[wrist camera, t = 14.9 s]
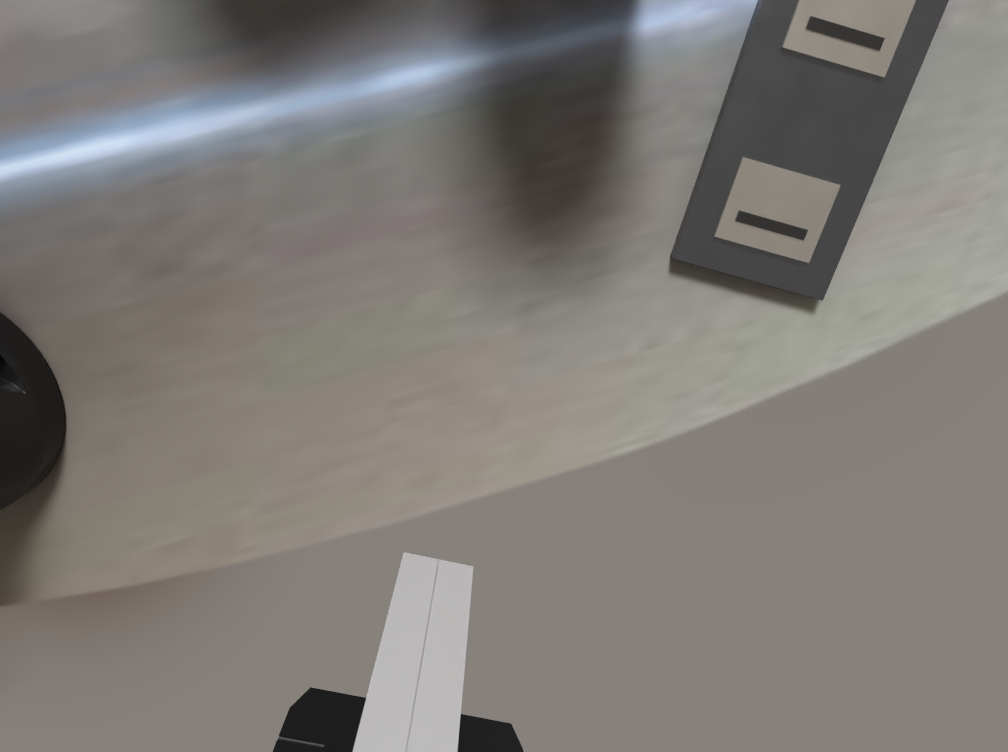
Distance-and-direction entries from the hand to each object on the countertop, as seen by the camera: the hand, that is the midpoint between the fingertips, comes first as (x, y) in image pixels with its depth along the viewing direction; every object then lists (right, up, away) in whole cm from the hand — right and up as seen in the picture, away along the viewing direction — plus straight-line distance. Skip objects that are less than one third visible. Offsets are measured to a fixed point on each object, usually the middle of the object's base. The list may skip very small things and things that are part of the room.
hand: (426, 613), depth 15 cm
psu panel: (+18, +19, +24) cm, 35 cm away
